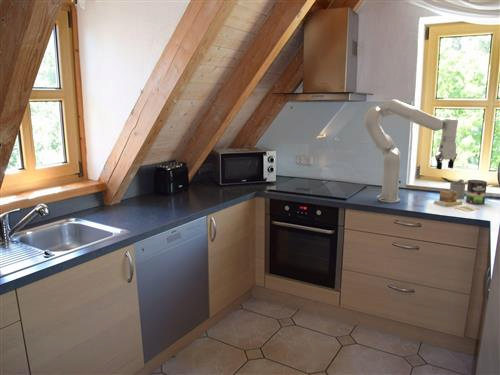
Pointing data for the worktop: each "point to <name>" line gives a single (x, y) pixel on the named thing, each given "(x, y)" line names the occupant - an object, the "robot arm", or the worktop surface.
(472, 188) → the coffee can
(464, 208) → the pallet
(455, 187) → the cup
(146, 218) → the worktop surface
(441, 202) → the block
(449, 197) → the crate
